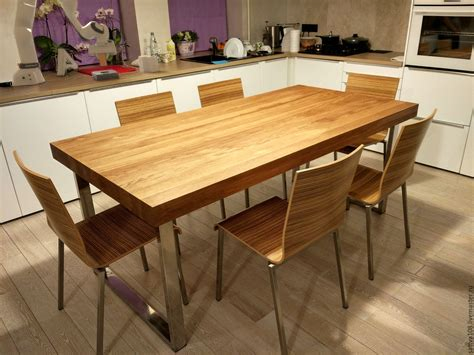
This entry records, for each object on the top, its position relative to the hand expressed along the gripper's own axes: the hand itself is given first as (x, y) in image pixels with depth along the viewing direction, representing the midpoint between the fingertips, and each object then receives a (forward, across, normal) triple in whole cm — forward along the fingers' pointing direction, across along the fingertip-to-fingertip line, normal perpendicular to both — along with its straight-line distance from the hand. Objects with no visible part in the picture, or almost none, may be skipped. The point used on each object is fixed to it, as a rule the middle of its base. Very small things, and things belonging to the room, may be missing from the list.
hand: (102, 59), depth 292 cm
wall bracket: (-14, -36, +34) cm, 52 cm away
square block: (+3, 0, +4) cm, 5 cm away
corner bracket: (-5, +31, +25) cm, 40 cm away
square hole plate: (+9, 0, +10) cm, 13 cm away
